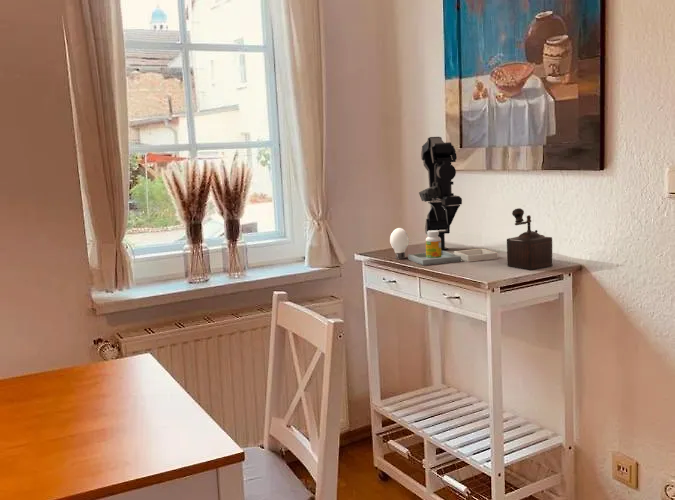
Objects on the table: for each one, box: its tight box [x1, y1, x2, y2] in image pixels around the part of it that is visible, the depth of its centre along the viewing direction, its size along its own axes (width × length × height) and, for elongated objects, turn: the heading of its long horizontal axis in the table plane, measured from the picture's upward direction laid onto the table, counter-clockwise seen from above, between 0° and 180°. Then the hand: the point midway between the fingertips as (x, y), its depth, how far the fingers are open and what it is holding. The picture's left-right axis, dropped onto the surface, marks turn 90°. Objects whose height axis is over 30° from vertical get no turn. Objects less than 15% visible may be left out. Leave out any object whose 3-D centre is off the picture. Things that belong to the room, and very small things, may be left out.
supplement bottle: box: [425, 230, 442, 259], centre depth 239 cm, size 5×5×10 cm
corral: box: [453, 248, 499, 263], centre depth 240 cm, size 11×11×2 cm
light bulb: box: [389, 227, 410, 260], centre depth 247 cm, size 7×7×11 cm
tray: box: [407, 250, 462, 266], centre depth 239 cm, size 14×14×2 cm
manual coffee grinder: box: [506, 208, 554, 271], centre depth 221 cm, size 16×11×18 cm
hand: (444, 223), depth 241 cm, fingers open, 9 cm apart
